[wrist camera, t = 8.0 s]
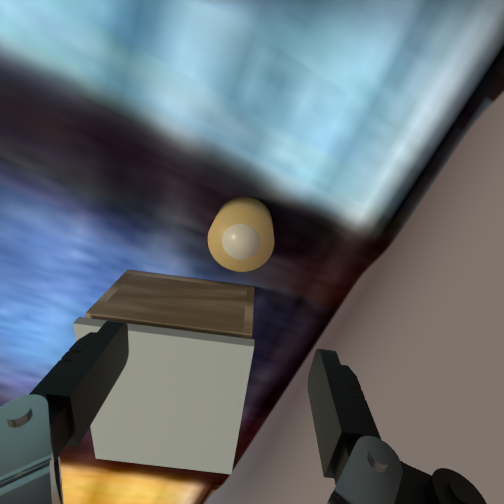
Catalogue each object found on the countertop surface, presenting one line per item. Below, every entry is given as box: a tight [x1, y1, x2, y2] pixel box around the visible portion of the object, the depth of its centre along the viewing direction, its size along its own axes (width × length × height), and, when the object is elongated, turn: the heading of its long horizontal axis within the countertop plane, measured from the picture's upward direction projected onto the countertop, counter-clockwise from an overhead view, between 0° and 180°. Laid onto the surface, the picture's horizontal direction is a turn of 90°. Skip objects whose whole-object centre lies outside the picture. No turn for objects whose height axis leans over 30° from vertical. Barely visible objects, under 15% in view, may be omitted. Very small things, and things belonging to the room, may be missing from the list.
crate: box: [86, 270, 254, 339], centre depth 31 cm, size 18×14×8 cm
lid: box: [73, 317, 254, 474], centre depth 26 cm, size 18×14×1 cm
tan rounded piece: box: [208, 196, 274, 272], centre depth 26 cm, size 6×6×5 cm
